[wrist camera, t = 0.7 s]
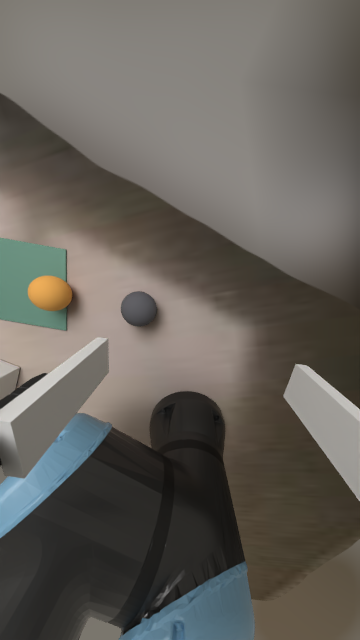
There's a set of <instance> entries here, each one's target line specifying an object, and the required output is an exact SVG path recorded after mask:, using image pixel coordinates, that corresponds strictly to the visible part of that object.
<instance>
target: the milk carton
mask: <svg viewBox="0 0 360 640" xmlns="http://www.w3.org/2000/svg"><path fill="white" fill-rule="evenodd" d="M19 370H20V367H18V366H15V365H13V364H10V363H7V362H5V361H2V360H0V400H1V399H3V398H4V397H6V396H7V395H10V394H11V392H13V391H14V390H15V389H16V384H17V380H18V375H19Z"/></svg>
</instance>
